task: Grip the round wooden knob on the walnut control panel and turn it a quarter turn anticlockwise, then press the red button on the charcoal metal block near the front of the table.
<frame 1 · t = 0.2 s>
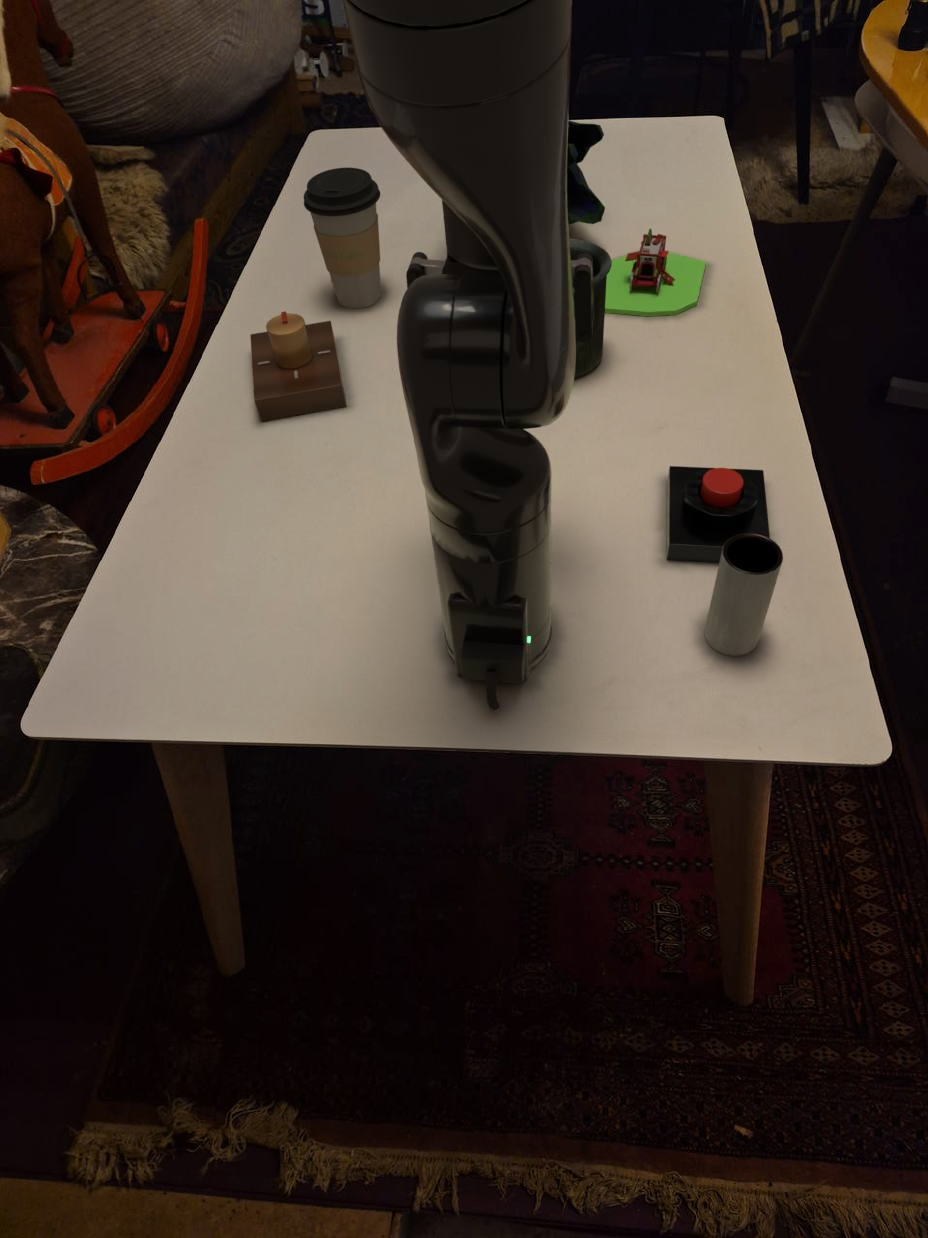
hand: (504, 380, 71), 17 cm above the table, tool pointing down, fingers open, 8 cm apart
knob: (289, 339, 99), point 5 cm above the table, hinge at 0.0°
coffee cup: (360, 297, 115), on the table
panel: (299, 379, 103), on the table
button block: (714, 522, 83), on the table
planter: (730, 637, 74), on the table
mug: (544, 358, 103), on the table
decorative plant: (522, 236, 122), on the table
button: (721, 487, 79), point 4 cm above the table, slide at 0.1 cm
toy diorama: (641, 285, 112), on the table
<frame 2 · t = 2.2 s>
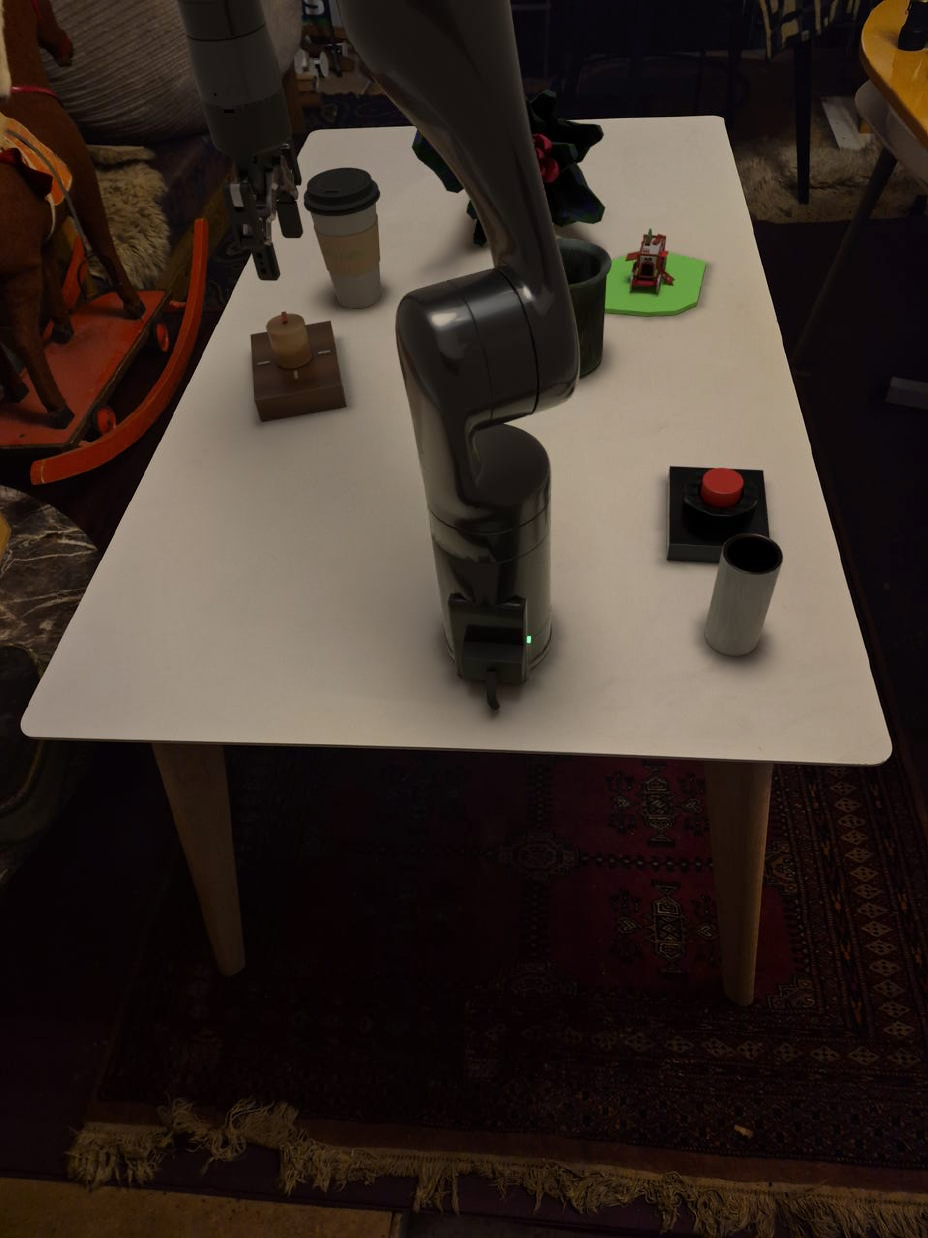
hand: (282, 257, 90), 16 cm above the table, tool pointing down, fingers open, 8 cm apart
nothing on the table moved.
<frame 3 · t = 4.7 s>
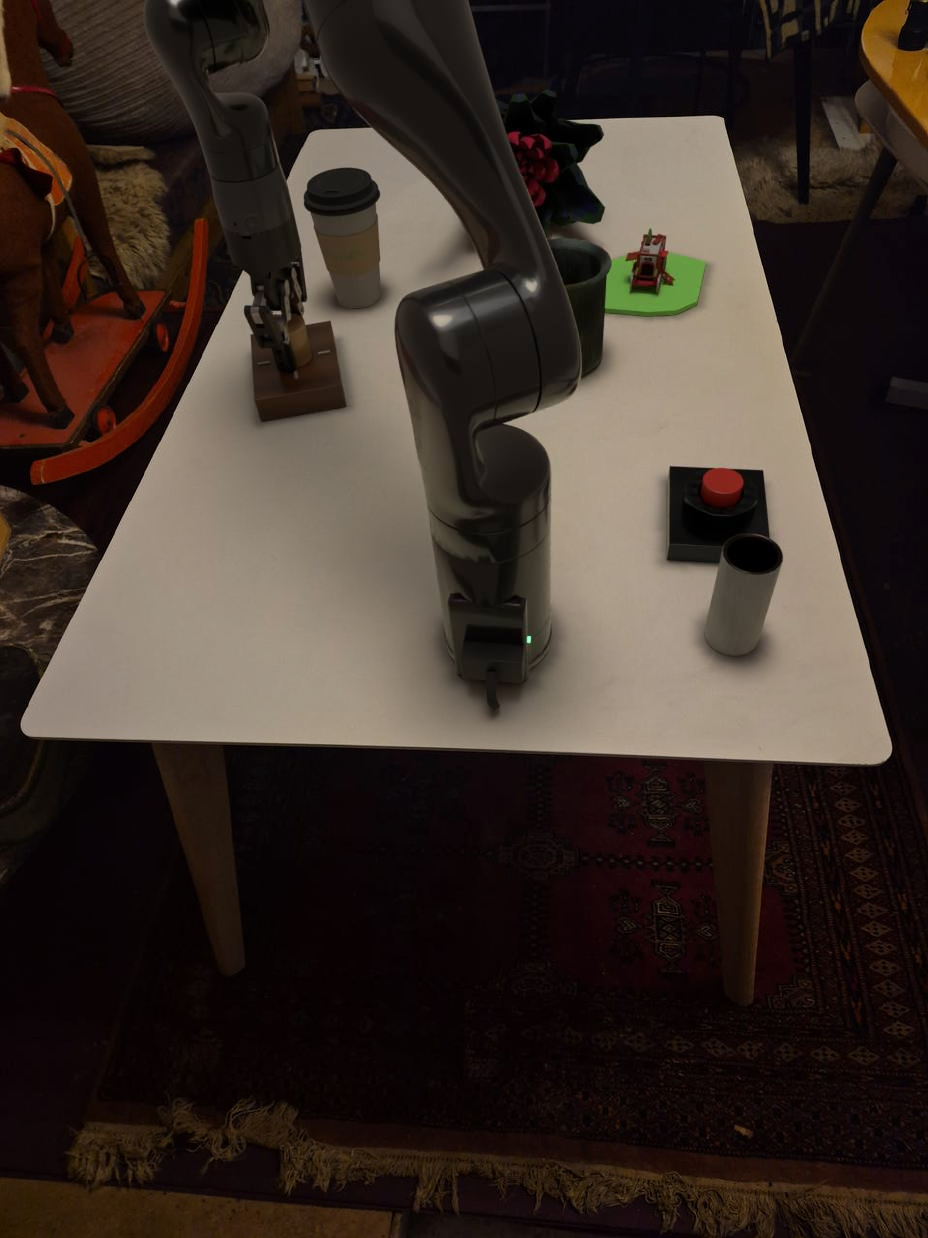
hand: (293, 356, 101), 3 cm above the table, tool pointing down, fingers closed on knob, 4 cm apart
knob: (289, 339, 99), point 5 cm above the table, hinge at 0.3°, touching gripper
everything else where it was.
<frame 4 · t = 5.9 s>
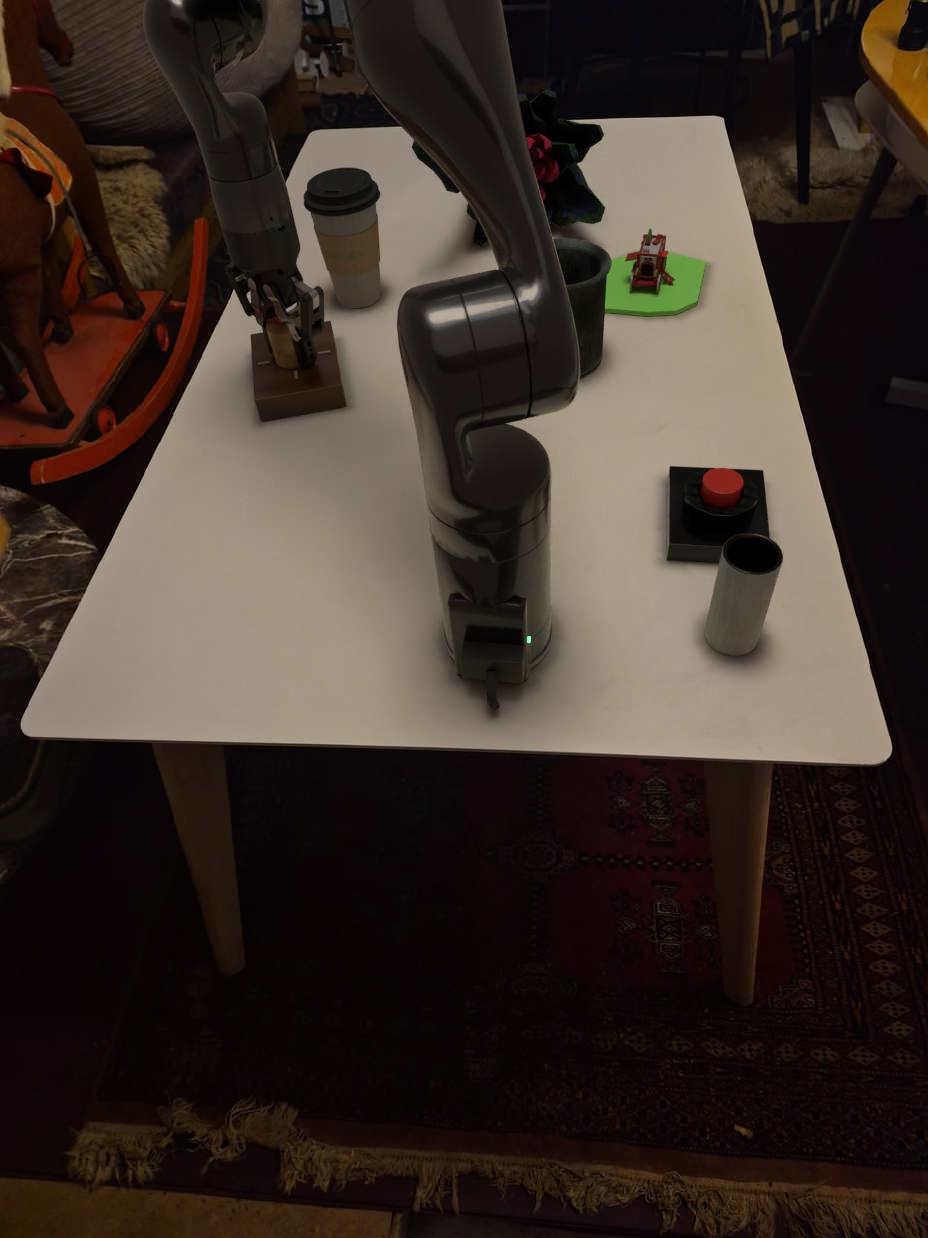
hand: (293, 356, 101), 3 cm above the table, tool pointing down, fingers closed on knob, 4 cm apart
knob: (289, 339, 99), point 5 cm above the table, hinge at 61.6°, touching gripper
everything else where it was.
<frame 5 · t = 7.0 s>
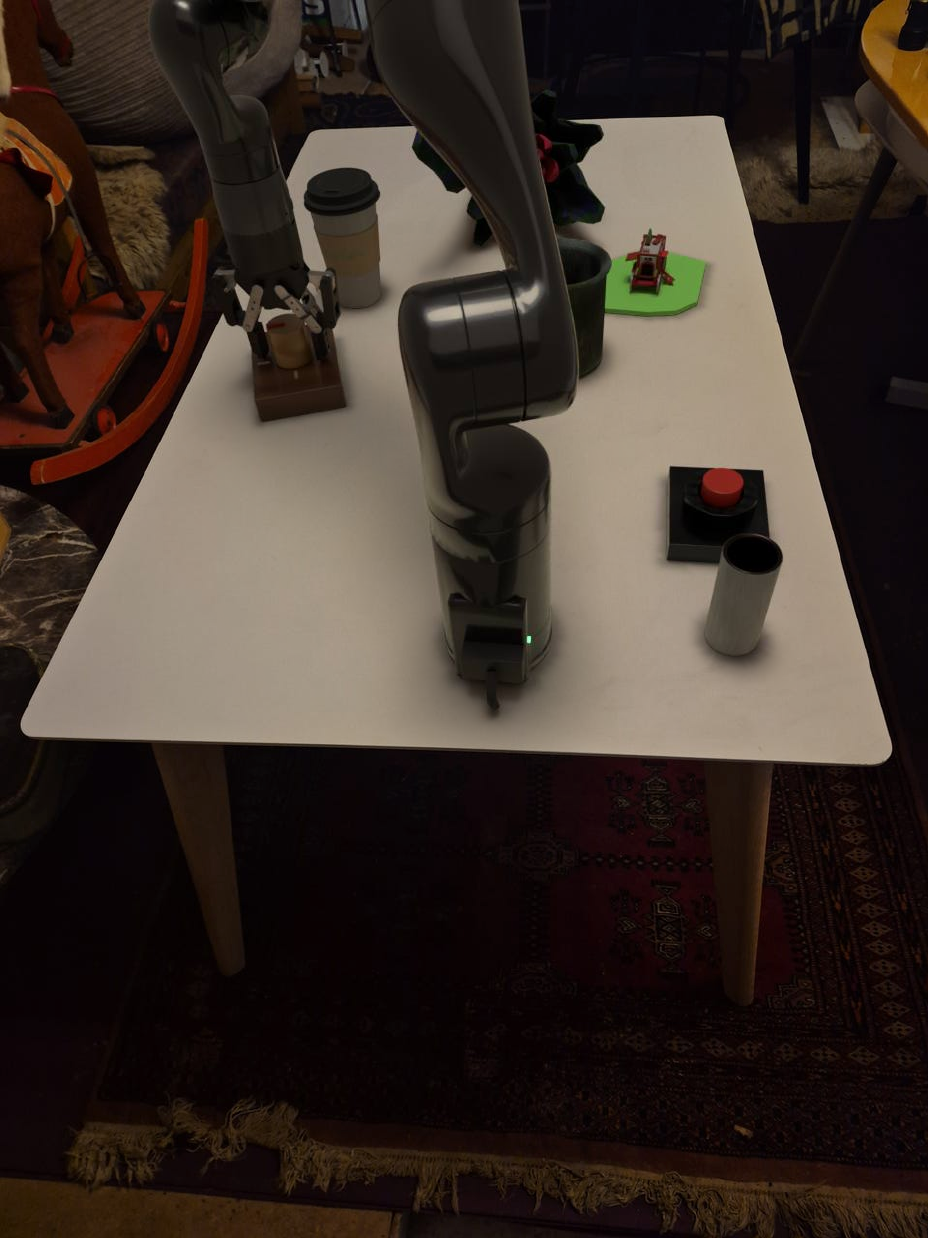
hand: (293, 355, 101), 3 cm above the table, tool pointing down, fingers open, 6 cm apart
knob: (289, 339, 99), point 5 cm above the table, hinge at 93.6°
everything else where it was.
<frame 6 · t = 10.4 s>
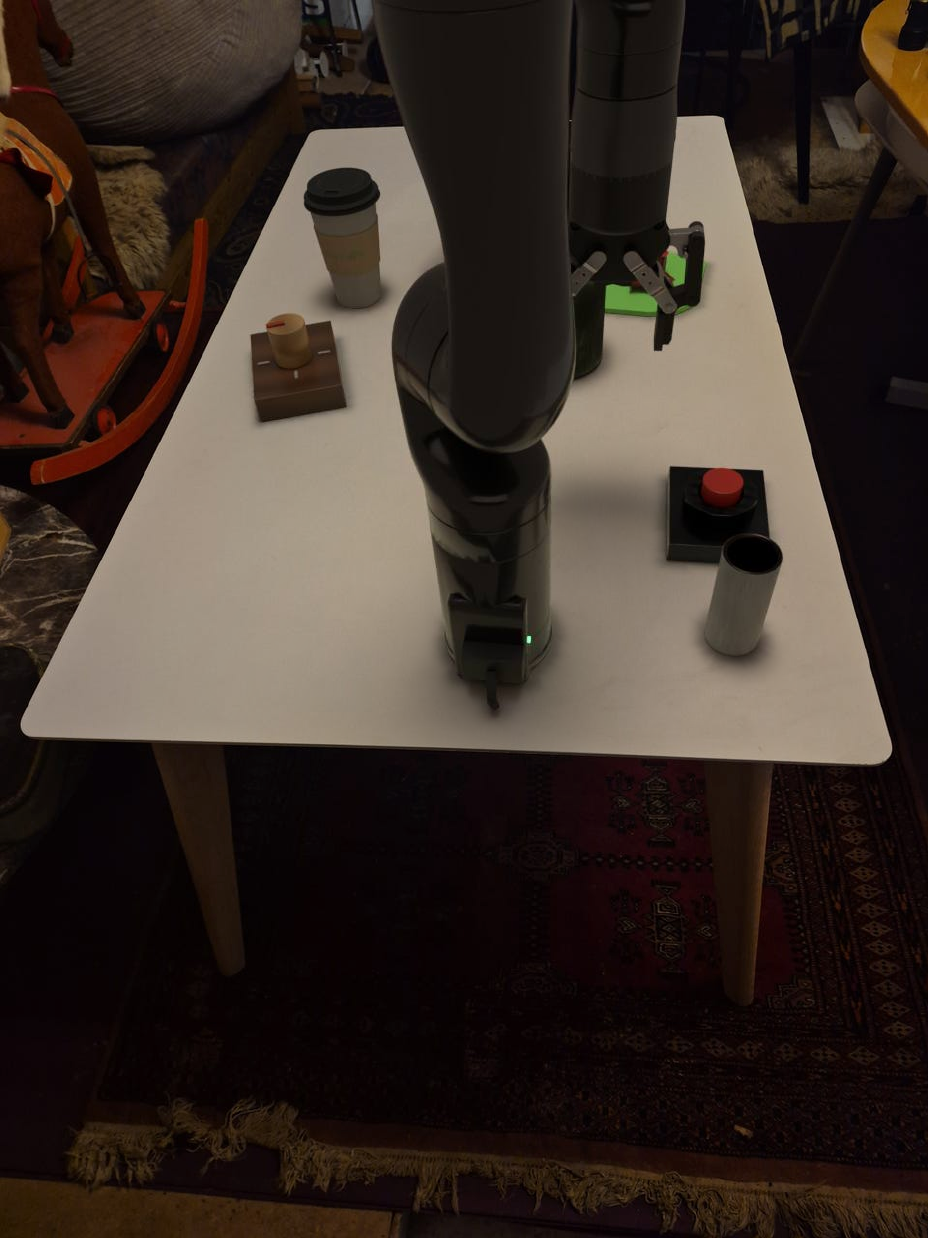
hand: (608, 345, 75), 16 cm above the table, tool pointing down, fingers open, 8 cm apart
nothing on the table moved.
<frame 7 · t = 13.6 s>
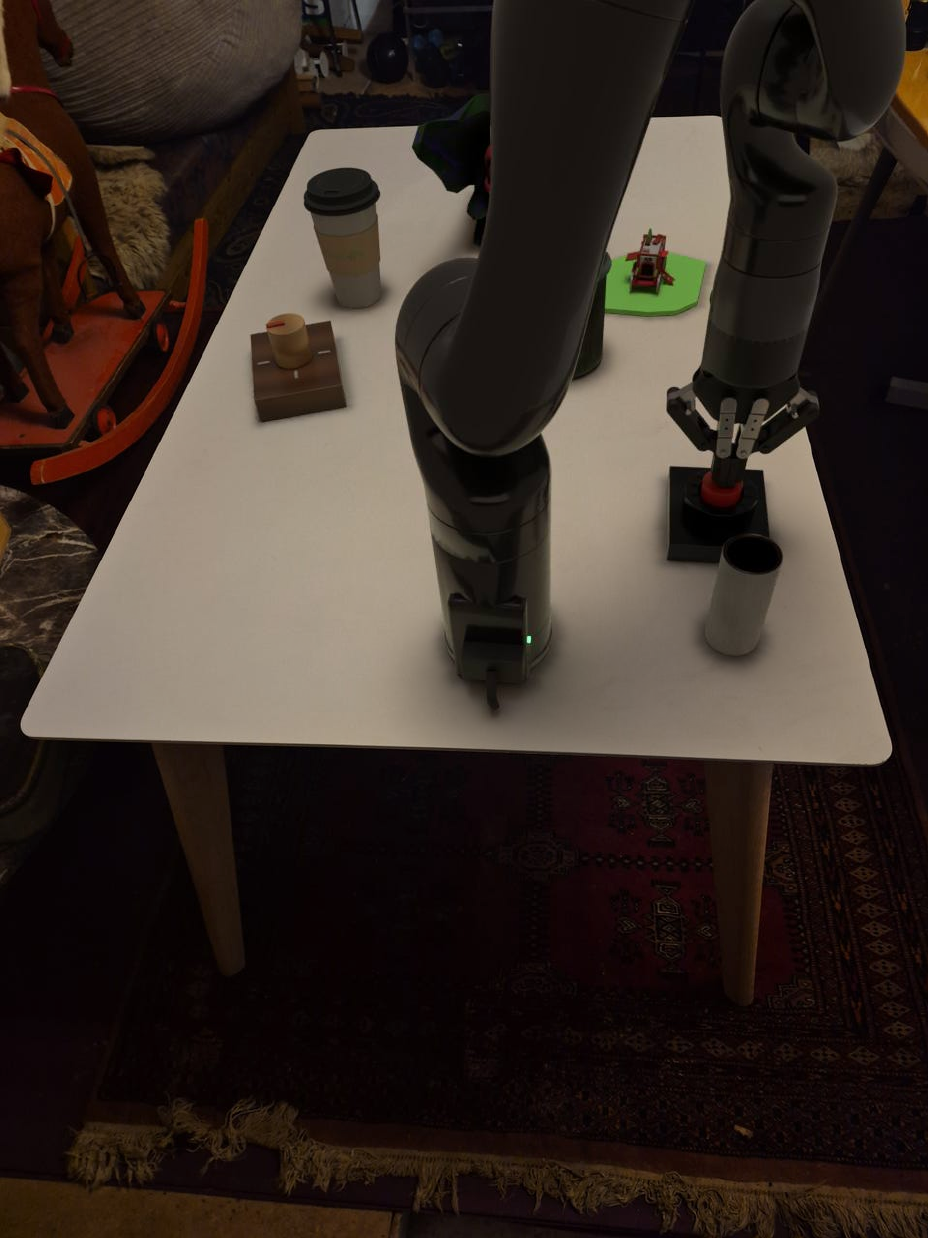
hand: (725, 481, 79), 5 cm above the table, tool pointing down, fingers closed
button: (721, 488, 80), point 4 cm above the table, slide at -0.1 cm, touching gripper
everything else where it was.
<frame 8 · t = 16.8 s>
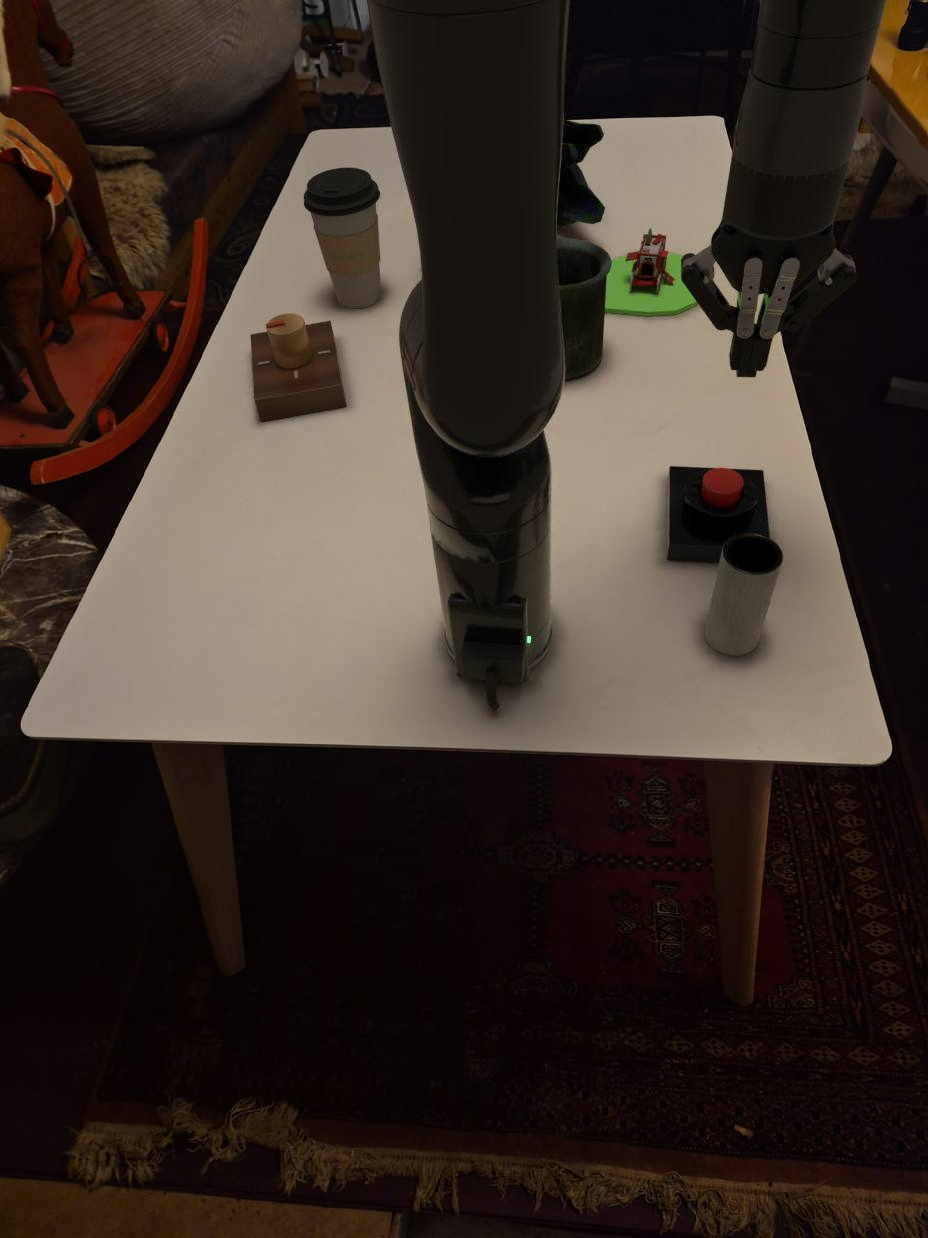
hand: (745, 371, 70), 17 cm above the table, tool pointing down, fingers closed
button: (721, 487, 79), point 4 cm above the table, slide at 0.1 cm
everything else where it was.
at the end: knob at +94° (first picture: +0°); button pushed in 1.2 cm at the most during the clip, back to where it started at the end; button slide at 0.1 cm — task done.
